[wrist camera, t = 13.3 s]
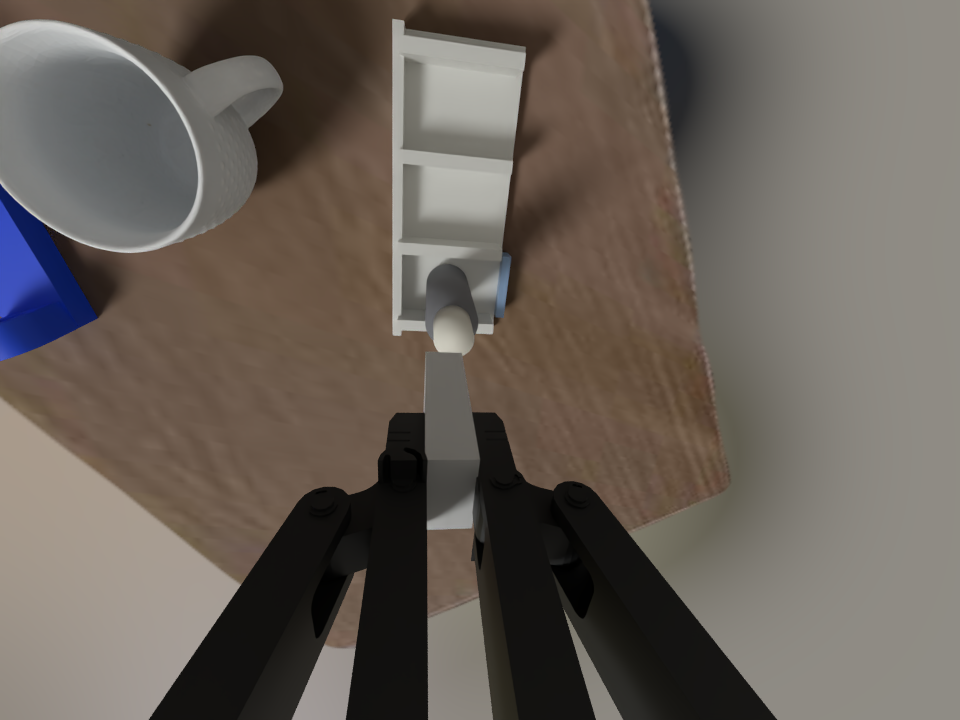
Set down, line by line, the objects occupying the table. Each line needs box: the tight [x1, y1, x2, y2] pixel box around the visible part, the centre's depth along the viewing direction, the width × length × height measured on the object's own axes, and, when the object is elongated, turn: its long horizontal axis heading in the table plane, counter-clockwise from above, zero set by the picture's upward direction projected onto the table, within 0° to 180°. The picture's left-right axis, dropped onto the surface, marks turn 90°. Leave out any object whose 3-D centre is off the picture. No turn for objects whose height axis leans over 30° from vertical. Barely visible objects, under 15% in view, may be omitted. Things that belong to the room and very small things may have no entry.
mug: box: [0, 19, 283, 253], centre depth 27 cm, size 15×11×13 cm
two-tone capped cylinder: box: [425, 264, 478, 356], centre depth 33 cm, size 4×4×13 cm
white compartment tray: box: [392, 19, 526, 336], centre depth 35 cm, size 24×11×4 cm, turn 174°
